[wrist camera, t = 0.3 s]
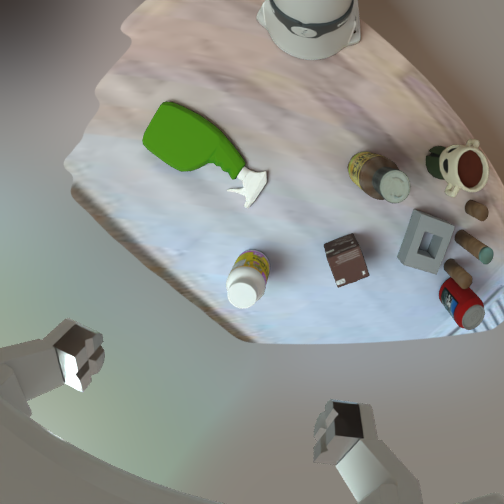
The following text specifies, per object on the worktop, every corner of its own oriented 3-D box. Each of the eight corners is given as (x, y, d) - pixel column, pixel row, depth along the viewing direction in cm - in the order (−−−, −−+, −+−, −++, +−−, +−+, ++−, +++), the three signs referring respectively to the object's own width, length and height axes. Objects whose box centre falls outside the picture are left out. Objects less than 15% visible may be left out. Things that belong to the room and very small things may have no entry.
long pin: (457, 228, 50) (485, 246, 40) (468, 232, 50) (495, 250, 40) (453, 241, 51) (478, 262, 41) (463, 245, 51) (489, 265, 41)
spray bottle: (170, 97, 50) (279, 165, 52) (142, 145, 54) (245, 213, 56) (163, 95, 47) (278, 166, 50) (135, 146, 51) (243, 217, 54)
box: (352, 232, 54) (360, 245, 47) (362, 260, 55) (370, 276, 49) (322, 243, 55) (326, 258, 49) (333, 271, 57) (337, 288, 50)
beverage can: (432, 290, 55) (454, 320, 44) (454, 269, 53) (480, 295, 42) (445, 308, 56) (467, 338, 45) (466, 288, 54) (491, 315, 43)
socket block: (413, 208, 50) (421, 213, 47) (446, 220, 50) (455, 226, 46) (397, 256, 54) (403, 264, 50) (429, 266, 54) (436, 274, 50)
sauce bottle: (363, 144, 48) (400, 146, 29) (386, 170, 49) (431, 187, 30) (338, 167, 50) (362, 182, 32) (361, 193, 51) (394, 222, 33)
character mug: (435, 128, 44) (470, 126, 32) (461, 148, 44) (499, 153, 32) (412, 176, 48) (442, 187, 36) (439, 195, 49) (473, 211, 36)
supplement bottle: (276, 270, 59) (271, 304, 47) (248, 285, 61) (236, 320, 49) (258, 242, 57) (248, 269, 45) (229, 258, 59) (213, 288, 47)
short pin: (467, 198, 47) (480, 203, 43) (477, 202, 47) (490, 208, 43) (463, 211, 49) (475, 218, 44) (473, 216, 48) (485, 223, 44)
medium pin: (447, 257, 52) (464, 273, 45) (457, 260, 52) (474, 276, 45) (441, 270, 53) (457, 287, 46) (451, 273, 53) (468, 290, 46)
